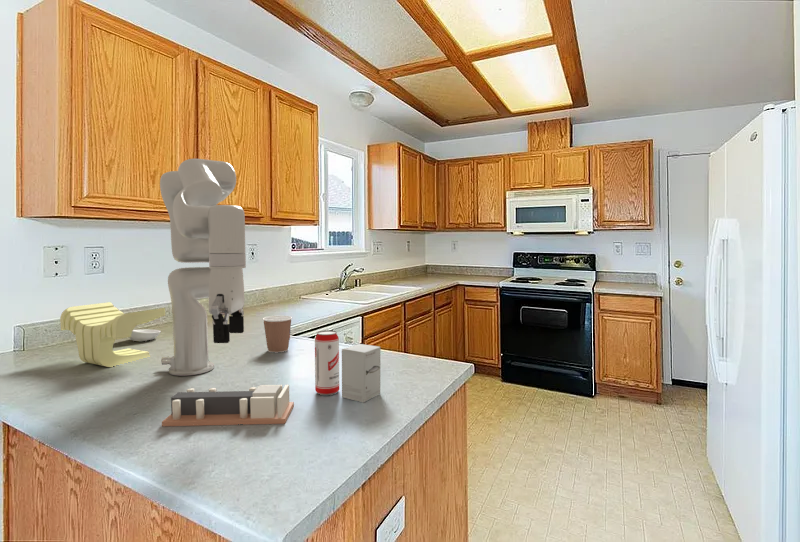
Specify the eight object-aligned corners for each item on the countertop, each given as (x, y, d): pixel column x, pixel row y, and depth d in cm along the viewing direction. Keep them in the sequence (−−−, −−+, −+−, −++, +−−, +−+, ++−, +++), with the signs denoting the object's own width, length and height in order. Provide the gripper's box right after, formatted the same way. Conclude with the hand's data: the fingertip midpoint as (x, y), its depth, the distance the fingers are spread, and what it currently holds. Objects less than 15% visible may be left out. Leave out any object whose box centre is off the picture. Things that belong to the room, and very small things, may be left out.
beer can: (343, 389, 114) (343, 330, 113) (332, 398, 108) (331, 335, 107) (322, 387, 116) (322, 329, 115) (310, 395, 110) (309, 333, 109)
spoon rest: (151, 336, 181) (150, 319, 180) (166, 339, 175) (166, 322, 174) (86, 347, 161) (85, 328, 160) (101, 352, 155) (100, 332, 154)
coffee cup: (298, 349, 157) (298, 317, 157) (276, 355, 149) (276, 321, 148) (279, 345, 163) (278, 314, 162) (257, 351, 154) (256, 318, 153)
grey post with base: (169, 416, 94) (169, 394, 94) (180, 408, 99) (179, 386, 99) (275, 414, 95) (275, 392, 95) (280, 406, 100) (280, 385, 100)
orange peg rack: (161, 426, 91) (161, 401, 91) (183, 408, 101) (182, 385, 101) (284, 423, 93) (284, 398, 93) (293, 406, 103) (293, 383, 102)
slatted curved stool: (62, 361, 141) (59, 308, 140) (112, 350, 156) (110, 302, 155) (117, 373, 128) (115, 314, 127) (167, 360, 143) (165, 307, 142)
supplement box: (364, 403, 105) (364, 352, 104) (341, 397, 109) (340, 348, 108) (381, 394, 111) (381, 346, 110) (358, 389, 115) (358, 342, 114)
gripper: (224, 259, 103) (226, 329, 104) (193, 263, 86) (196, 347, 87) (255, 259, 104) (257, 329, 105) (231, 263, 86) (233, 347, 88)
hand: (229, 337), depth 96 cm, fingers open, 9 cm apart
